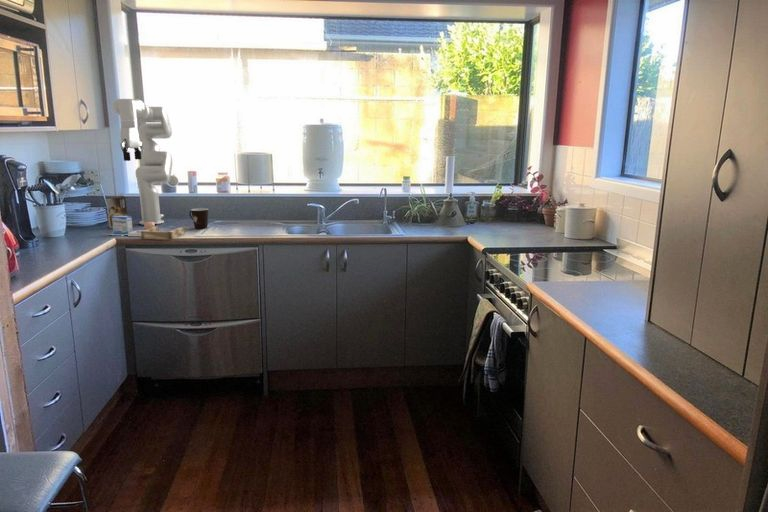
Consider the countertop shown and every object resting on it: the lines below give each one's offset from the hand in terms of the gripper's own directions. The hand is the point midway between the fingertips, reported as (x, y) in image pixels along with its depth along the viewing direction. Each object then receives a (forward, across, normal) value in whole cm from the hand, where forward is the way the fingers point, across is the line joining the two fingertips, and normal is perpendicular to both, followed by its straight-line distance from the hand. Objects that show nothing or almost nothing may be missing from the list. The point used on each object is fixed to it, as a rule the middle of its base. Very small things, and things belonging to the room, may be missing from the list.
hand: (132, 160), depth 279 cm
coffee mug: (+36, -14, +26) cm, 47 cm away
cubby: (+36, +11, +18) cm, 42 cm away
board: (+36, +8, -4) cm, 37 cm away
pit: (+36, +10, +6) cm, 38 cm away
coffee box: (+36, -10, -18) cm, 42 cm away
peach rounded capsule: (+36, +1, +6) cm, 37 cm away
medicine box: (+36, +8, -4) cm, 37 cm away
